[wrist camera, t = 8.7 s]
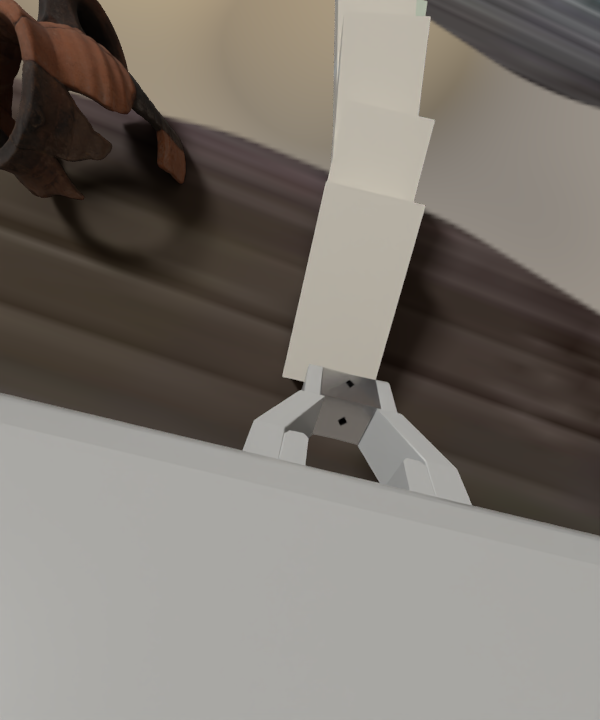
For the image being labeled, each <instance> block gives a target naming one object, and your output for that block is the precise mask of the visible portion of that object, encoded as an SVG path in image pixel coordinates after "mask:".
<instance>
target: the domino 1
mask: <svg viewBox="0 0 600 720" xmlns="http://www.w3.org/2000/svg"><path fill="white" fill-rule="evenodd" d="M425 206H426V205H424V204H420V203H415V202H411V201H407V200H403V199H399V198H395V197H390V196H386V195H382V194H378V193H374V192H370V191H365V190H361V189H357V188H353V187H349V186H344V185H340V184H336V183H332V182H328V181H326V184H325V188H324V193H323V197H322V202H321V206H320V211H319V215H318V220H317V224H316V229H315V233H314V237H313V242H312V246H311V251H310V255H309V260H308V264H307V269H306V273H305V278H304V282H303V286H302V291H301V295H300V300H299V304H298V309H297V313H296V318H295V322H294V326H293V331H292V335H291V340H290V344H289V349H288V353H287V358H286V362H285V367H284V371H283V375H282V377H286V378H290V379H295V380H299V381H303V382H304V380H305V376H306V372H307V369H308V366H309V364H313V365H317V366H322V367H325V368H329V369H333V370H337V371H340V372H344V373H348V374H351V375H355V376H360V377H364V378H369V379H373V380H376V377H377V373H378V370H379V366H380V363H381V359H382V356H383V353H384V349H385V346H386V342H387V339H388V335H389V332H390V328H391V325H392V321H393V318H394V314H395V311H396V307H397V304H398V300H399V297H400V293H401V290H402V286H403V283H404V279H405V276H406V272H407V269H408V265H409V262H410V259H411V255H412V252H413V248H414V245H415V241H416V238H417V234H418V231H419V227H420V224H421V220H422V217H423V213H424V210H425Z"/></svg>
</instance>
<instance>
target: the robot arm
mask: <svg viewBox="0 0 600 720" xmlns="http://www.w3.org/2000/svg"><path fill="white" fill-rule="evenodd" d="M312 434H315V435H319V436H324V437H329V438H334V439H338V440H341V441H345V442H349V443H353V444H356V445H358V447H359V449H360V450H361V452H362V454H363V455H364V457H365V459H366V461H367V462H368V464H369V466H370V467H371V469H372V471H373V472H374V474H375V476H376V477H377V479H378V481H379V483H376V482H372V481H368V480H364V479H360V478H356V477H351V476H347V475H343V474H339V473H335V472H330V471H326V470H322V469H318V468H314V467H309V466H305V463H306V454H307V445H308V439H309V438H310V436H311V435H312ZM0 720H600V536H598V535H594V534H590V533H586V532H582V531H577V530H573V529H569V528H565V527H561V526H556V525H552V524H548V523H544V522H540V521H535V520H531V519H527V518H523V517H519V516H514V515H510V514H506V513H502V512H497V511H493V510H489V509H485V508H481V507H477V506H472V504H471V502H470V499H469V497H468V494H467V492H466V490H465V487H464V485H463V483H462V480H461V478H460V475H459V473H458V471H457V469H456V468H455V467H454V466H453V465H452V464H451V463H450V462H449V461H448V460H447V459H446V458H445V457H444V456H443V455H442V454H441V453H440V452H439V451H438V450H437V449H436V448H435V447H434V446H433V445H432V444H431V443H430V442H429V441H428V440H427V439H426V438H425V437H424V436H423V435H422V434H421V433H420V432H419V431H418V430H417V429H416V428H415V427H414V426H413V425H412V424H411V423H410V422H409V421H408V420H407V419H406V418H405V417H404V416H403V415H402V414H398V413H397V410H396V406H395V402H394V399H393V395H392V391H391V388H390V384H389V383H388V382H384V381H379V380H373V379H369V378H364V377H360V376H355V375H351V374H348V373H344V372H340V371H337V370H333V369H329V368H325V367H322V366H317V365H313V364H309V366H308V369H307V372H306V376H305V380H304V384H303V387H302V390H300V391H298V392H296V393H295V394H293V395H292V396H290V397H289V398H287V399H286V400H284V401H283V402H281V403H280V404H278V405H277V406H275V407H274V408H272V409H270V410H269V411H267V412H266V413H264V414H263V415H261V416H260V417H258V418H257V419H255V420H254V422H253V424H252V427H251V430H250V432H249V435H248V437H247V440H246V443H245V445H244V448H243V450H238V449H234V448H230V447H226V446H221V445H217V444H213V443H209V442H205V441H200V440H196V439H192V438H188V437H184V436H179V435H175V434H171V433H167V432H163V431H159V430H154V429H150V428H146V427H142V426H138V425H133V424H129V423H125V422H121V421H117V420H113V419H108V418H104V417H100V416H96V415H92V414H87V413H83V412H79V411H75V410H71V409H67V408H62V407H58V406H54V405H50V404H46V403H42V402H37V401H33V400H29V399H25V398H21V397H16V396H12V395H8V394H4V393H0Z"/></svg>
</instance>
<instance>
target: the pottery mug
mask: <svg viewBox="0 0 600 720" xmlns="http://www.w3.org/2000/svg"><path fill="white" fill-rule="evenodd" d="M21 60H23V62H24V64H23V69H22V70H23V73H22V92H21V100H20V106H19V110H18V114H17V119H16V121H15V120H14V119H13V118H12V110H11V107H12V98H13V87H12V86H13V80H14V78H15V76H16V75H17V73H18V71H19V68H20V63H21ZM68 91H73V92H76V93H80V94H82V95H84V96H86V97H88V98H90V99H92V100H94V101H95V102H97V103H99V104H100V105H101V106H103V107H104V108H106V109H108V110H110V111H116V112H118V113H121V114H128V113H129V112H130V111H131V108H132V109H133V110H134V111H135V112H136V113H137V114H138V115H140V116H142V117H143V118H144V119H145V120H147V121H148V122H149V123H150V124H151V125H152V127H153V128H154V129H155V130H156V132H157V141H158V156H157V164H158V166H159V167H160V168H161V169H163V170H164V171H166V172H167V173H170V174H171V175H172V177H173V178H174V179H175V180H176V181H177V182H178V183H180V184H182V183H183V182H184V177H185V173H186V168H185V167H186V162H185V155H184V149H183V146H182V143H181V140H180V139H179V137H178V135H177V134H176V133H175V132H174V131H173V129H172V128H171V127H170V125H169V124H168V123H167V121H166V120H165V119H164V118H163V116H162V115H161V114H160V113H159V112H158V110H157V109H156V108H155V106H154V104H153V103H152V102H151V101H150V100H149V98H148V97H147V95H146V94H145V93H144V92H143V90H142V89H141V87H140V86H139V84H138V83H137V82H136V80H135V79H134V78H133V76H132V75H131V74H130V73H129V72H128V69H127V64H126V60H125V57H124V54H123V50H122V47H121V45H120V42H119V39H118V37H117V35H116V32H115V30H114V28H113V26H112V24H111V22H110V20H109V18H108V16H107V15H106V13H105V11H104V10H103V8H102V7H101V5H100V4H99V2H98V1H97V0H39V14H38V20H37V21H36V20H35V19H34V18H32V17H31V16H30V15H29V14H28V13H26V12H25V11H24V10H23V9H22V8H21V7H20V6H19V5H18V4H17V3H16V2H15V1H13V0H0V169H2V170H5V171H8V172H10V173H13V174H14V175H15V176H16V177H17V179H18V180H19V181H20V182H21V183H22V184H23V185H24V186H25V187H26V188H27V189H28V190H29V191H30V192H31V193H33V194H34V195H35V196H38V197H39V196H40V197H41V198H48V197H52V196H54V195H63V196H66V197H68V198H73V199H79V200H83V199H84V196H83V194H82V193H80V192H79V191H78V190H77V188H76V187H75V186H74V185H73V184H72V182H71V181H70V179H69V178H68V176H67V174H66V173H65V171H64V170H63V168H62V166H61V165H60V163H59V162H58V160H57V159H56V157H59V158H61V159H64V160H66V161H72V162H76V161H82V160H87V159H93V160H101V159H104V158H105V157H106V156H107V155H108V154H109V153H110V152H111V149H112V144H111V143H110V142H109V141H108V140H106V139H105V138H104V137H102V136H101V135H100V134H99V133H97V132H95V131H94V130H93V128H92V126H91V124H90V123H89V121H88V120H87V118H86V117H85V116H84V115H83V113H82V112H81V111H80V110H79V108H78V107H77V105H76V104H75V101H74V100H73V98H72V97H71V95H70V94H69V92H68ZM55 156H56V157H55Z"/></svg>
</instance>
